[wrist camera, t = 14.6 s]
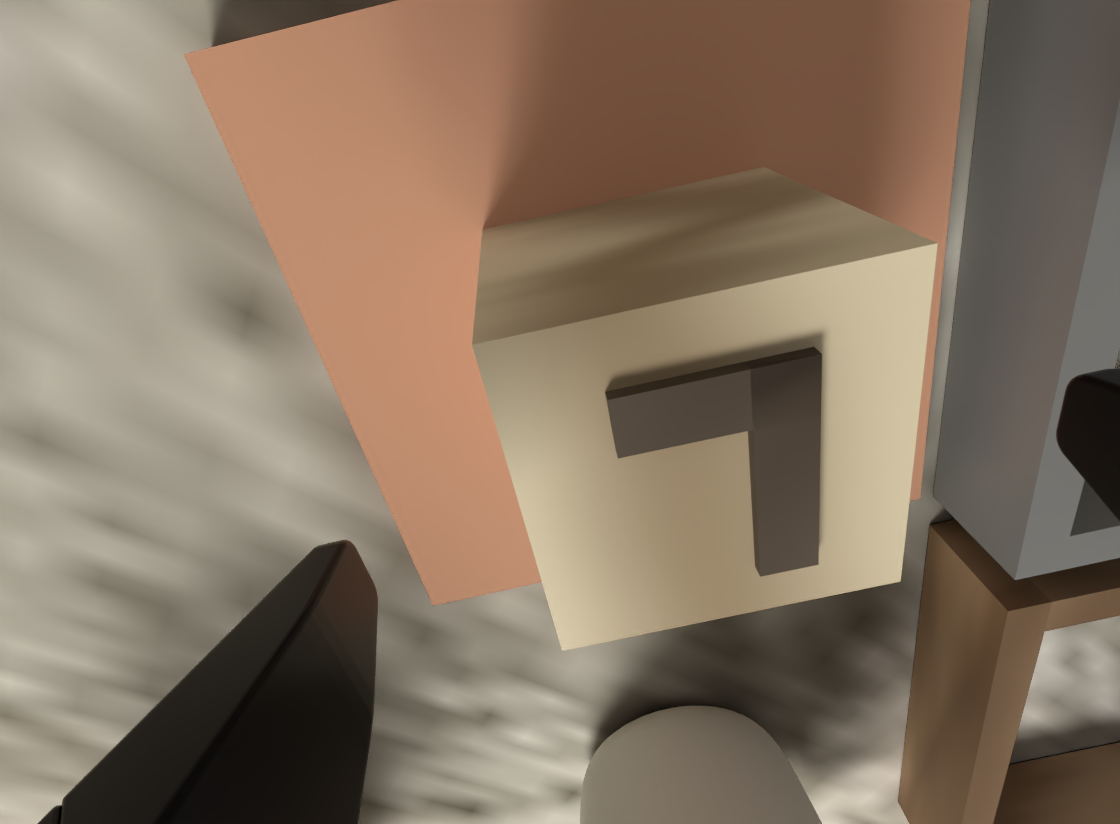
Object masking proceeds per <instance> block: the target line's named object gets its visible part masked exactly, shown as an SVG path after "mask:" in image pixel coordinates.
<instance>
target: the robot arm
mask: <svg viewBox="0 0 1120 824" xmlns="http://www.w3.org/2000/svg"><path fill="white" fill-rule="evenodd" d="M1056 440H1057V443H1058V446H1059V448H1060V450H1061V452H1062V453H1063V454H1064V456H1065V457H1066V458H1067V459H1068V460H1069V462H1070V463H1071V464H1072V465H1073V466H1074V468H1075V469H1076V470H1077V471H1078V472H1079V474H1080V475H1081V476H1082V477H1083V478H1084V480H1085V481H1086V482H1087V483H1088V484H1089V486H1090V487H1091V488H1092V489H1093V490H1094V492H1095V493H1096V494H1097V495H1098V496H1099V498H1100V499H1101V500H1102V501H1103V502H1104V504H1105V505H1106V506H1107V507H1108V508H1109V510H1110V511H1111V512H1112V513H1113V514H1114V516H1115V517H1116V518H1117V519H1118V520H1119V521H1120V369H1103V370H1099V371H1094V372H1090V373H1085V374H1081V375H1078V376H1076V377H1074V378H1072V379H1071V380H1070V382H1069V383H1068V384H1067V387H1066V390H1065V394H1064V398H1063V403H1062V407H1061V412H1060V416H1059V420H1058V425H1057V429H1056ZM377 616H378V597H377V591H376V588H375V585H374V583H373V581H372V579H371V577H370V575H369V573H368V571H367V569H366V567H365V565H364V563H363V561H362V559H361V557H360V555H359V553H358V551H357V549H356V547H355V546H354V545H353V544H352V543H351V542H350V541H347V540H341V541H336V542H332V543H327V544H323V545H319V546H317V547H315V548H314V549H313V550H312V551H311V552H310V553H309V554H308V555H307V556H306V557H305V558H304V559H303V560H302V561H301V562H300V563H299V564H298V565H297V566H296V567H295V568H294V569H293V570H292V571H291V572H290V573H289V574H288V575H287V576H286V577H285V578H284V579H283V580H282V581H281V582H280V583H279V584H278V585H277V586H276V587H275V588H274V589H273V590H272V591H271V592H270V593H269V594H268V595H267V596H266V597H265V598H264V599H263V600H262V601H261V602H260V603H259V604H258V605H257V606H256V607H255V608H254V609H253V610H252V611H251V612H250V613H249V614H248V615H247V616H246V617H245V618H244V619H243V620H242V621H241V622H240V623H239V624H238V625H237V626H236V627H235V628H234V629H233V630H232V631H231V632H230V633H229V634H228V635H227V636H226V637H225V638H224V639H223V640H222V641H221V642H220V643H219V644H218V645H217V646H216V647H215V648H214V649H213V650H212V651H211V652H210V653H208V654H207V655H206V656H205V657H204V658H203V659H202V660H201V661H200V662H199V663H198V664H197V665H196V666H195V667H194V668H193V669H192V670H191V671H190V672H189V673H188V674H187V675H186V676H185V677H184V678H183V679H182V680H181V681H180V682H179V683H178V684H177V685H176V686H175V687H174V688H173V689H172V690H171V691H170V692H169V693H168V694H167V695H166V696H165V697H164V698H163V699H162V700H161V701H160V702H159V703H158V704H157V705H156V706H155V707H154V708H153V709H152V710H151V711H150V712H149V713H148V714H147V715H146V716H145V717H144V718H143V719H142V720H141V721H140V722H139V723H138V724H137V725H136V726H135V727H134V728H133V729H132V730H131V731H130V732H129V733H128V734H127V735H126V736H125V737H124V738H123V739H122V740H121V741H120V742H119V743H118V744H117V745H116V746H115V747H114V748H113V749H112V750H111V751H110V752H109V753H108V754H107V755H106V756H105V757H104V758H103V759H102V760H101V761H100V762H99V763H98V764H97V765H96V766H95V767H94V768H93V769H92V770H91V771H90V772H89V773H88V774H87V775H86V776H85V777H84V778H83V779H82V780H81V781H80V782H79V783H78V784H77V785H76V786H75V787H74V788H73V789H72V790H71V791H70V792H69V793H68V794H67V795H66V796H65V797H64V798H63V801H62V805H58V806H55V807H54V808H53V809H52V810H51V811H50V812H49V813H48V814H47V815H46V816H45V817H44V818H43V819H42V820H41V821H40V822H39V823H38V824H358V819H359V813H360V806H361V799H362V793H363V786H364V779H365V773H366V766H367V759H368V753H369V746H370V739H371V731H372V723H373V713H374V697H375V670H376V643H377Z"/></svg>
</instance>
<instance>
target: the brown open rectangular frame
mask: <svg viewBox="0 0 1120 824" xmlns="http://www.w3.org/2000/svg"><path fill="white" fill-rule="evenodd" d="M1119 615H1120V558H1116V559H1112V560H1107V561H1102V562H1098V563H1093V564H1088V565H1084V566H1079V567H1074V568H1070V569H1065V570H1060V571H1056V572H1051V573H1046V574H1042V575H1037V576H1032V577H1028V578H1023V579H1018V580H1014V579H1013V578H1012V577H1011V576H1010V575H1009V574H1008V573H1007V572H1006V571H1005V570H1004V569H1003V568H1002V566H1001V565H1000V564H999V563H998V562H997V561H996V560H995V559H994V558H993V557H992V556H991V555H990V554H989V553H988V552H987V551H986V550H985V549H984V548H983V547H982V546H981V545H980V544H979V543H978V542H977V541H976V540H975V539H974V538H973V537H972V536H971V535H970V534H969V533H968V532H967V531H966V530H965V529H964V528H963V526H962V525H961V524H960V523H959V522H958V521H957V520H956V519H955V520H951V521H946V522H942V523H937V524H933V525H930V527H929V536H928V545H927V553H926V562H925V571H924V579H923V588H922V597H921V605H920V614H919V623H918V632H917V640H916V649H915V658H914V666H913V675H912V684H911V693H910V701H909V710H908V719H907V727H906V736H905V745H904V753H903V762H902V771H901V780H900V788H899V797H898V803H899V805H900V806H901V808H902V810H903V812H904V814H905V816H906V818H907V820H908V822H909V823H910V824H1120V742H1119V743H1114V744H1109V745H1104V746H1099V747H1095V748H1090V749H1085V750H1080V751H1075V752H1070V753H1065V754H1060V755H1056V756H1051V757H1046V758H1041V759H1036V760H1031V761H1026V762H1021V763H1016V764H1012V765H1009V762H1010V758H1011V755H1012V751H1013V747H1014V743H1015V740H1016V736H1017V732H1018V728H1019V725H1020V721H1021V717H1022V713H1023V710H1024V706H1025V702H1026V698H1027V695H1028V691H1029V687H1030V683H1031V680H1032V676H1033V672H1034V668H1035V665H1036V661H1037V657H1038V653H1039V650H1040V646H1041V642H1042V639H1043V635H1044V631H1049V630H1053V629H1058V628H1063V627H1067V626H1072V625H1077V624H1082V623H1086V622H1091V621H1096V620H1101V619H1105V618H1110V617H1115V616H1119Z"/></svg>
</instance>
